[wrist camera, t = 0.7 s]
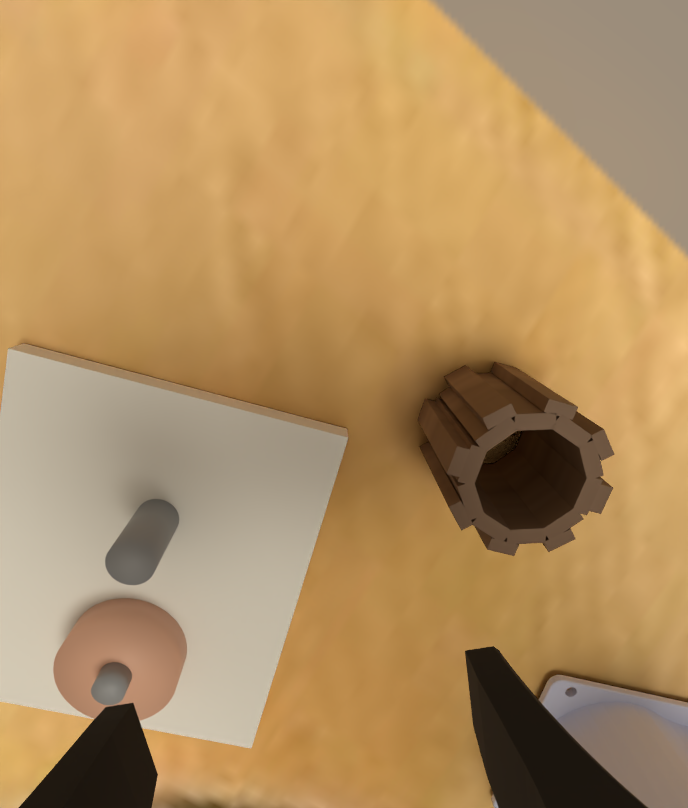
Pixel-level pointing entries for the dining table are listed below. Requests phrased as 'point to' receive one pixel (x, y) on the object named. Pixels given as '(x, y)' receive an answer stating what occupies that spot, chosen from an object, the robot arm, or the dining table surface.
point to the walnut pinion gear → (514, 458)
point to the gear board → (203, 565)
